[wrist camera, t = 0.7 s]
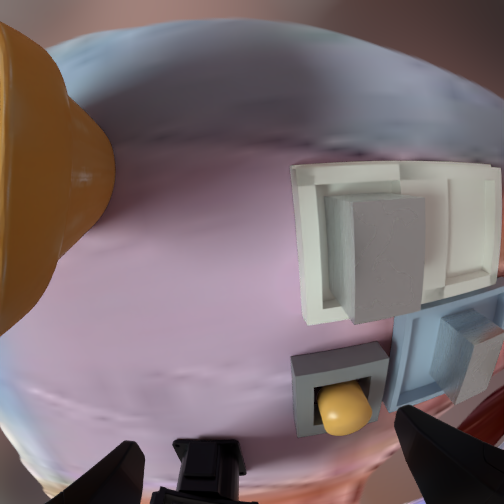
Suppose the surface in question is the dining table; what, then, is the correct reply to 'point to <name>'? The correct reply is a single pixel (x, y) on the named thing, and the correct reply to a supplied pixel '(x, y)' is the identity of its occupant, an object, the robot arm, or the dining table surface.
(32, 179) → the flower pot
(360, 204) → the block
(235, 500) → the robot arm
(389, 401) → the tray
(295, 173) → the white divided tray
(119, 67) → the dining table surface
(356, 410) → the button
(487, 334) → the billet
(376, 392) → the grey square frame
